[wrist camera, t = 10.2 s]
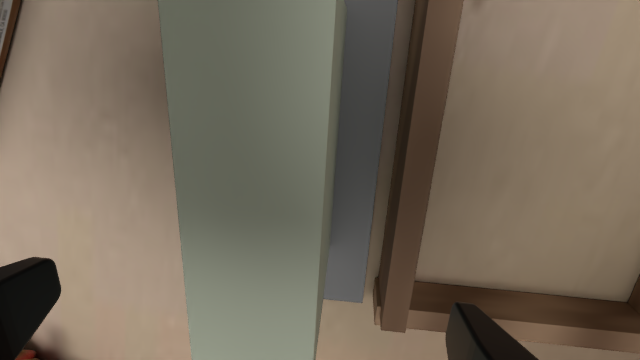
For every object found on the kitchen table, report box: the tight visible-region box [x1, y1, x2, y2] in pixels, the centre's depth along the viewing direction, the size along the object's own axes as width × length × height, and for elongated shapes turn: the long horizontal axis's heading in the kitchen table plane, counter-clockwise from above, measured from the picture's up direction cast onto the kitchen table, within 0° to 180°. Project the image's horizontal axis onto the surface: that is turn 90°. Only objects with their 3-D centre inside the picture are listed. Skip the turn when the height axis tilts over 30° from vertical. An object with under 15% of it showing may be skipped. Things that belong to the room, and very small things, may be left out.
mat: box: [323, 0, 398, 303], centre depth 19 cm, size 8×19×1 cm, turn 177°
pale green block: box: [158, 0, 347, 360], centre depth 14 cm, size 4×12×9 cm, turn 177°
